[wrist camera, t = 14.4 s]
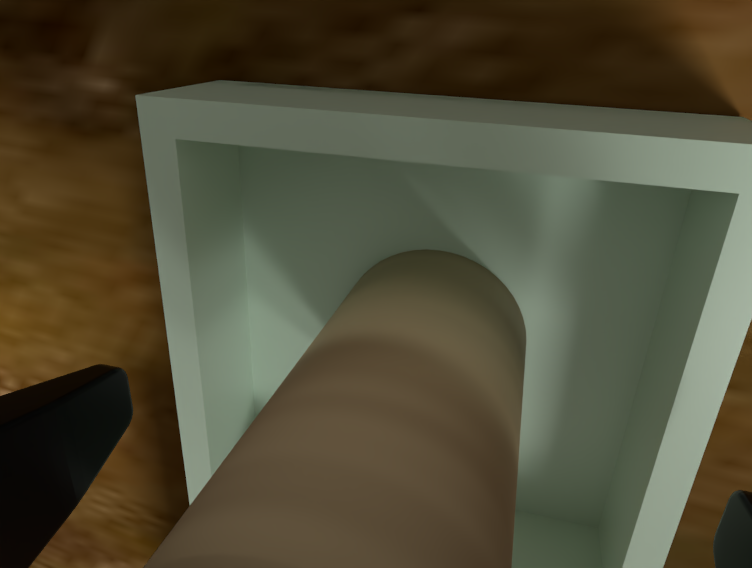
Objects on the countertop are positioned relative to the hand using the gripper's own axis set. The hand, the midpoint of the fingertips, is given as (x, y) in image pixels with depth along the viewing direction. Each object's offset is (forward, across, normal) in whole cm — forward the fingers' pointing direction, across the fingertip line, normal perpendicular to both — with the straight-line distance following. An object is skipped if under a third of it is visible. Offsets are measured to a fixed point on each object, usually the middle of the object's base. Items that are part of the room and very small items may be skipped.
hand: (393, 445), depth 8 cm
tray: (+4, 0, 0) cm, 4 cm away
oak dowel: (+3, 0, 0) cm, 3 cm away
